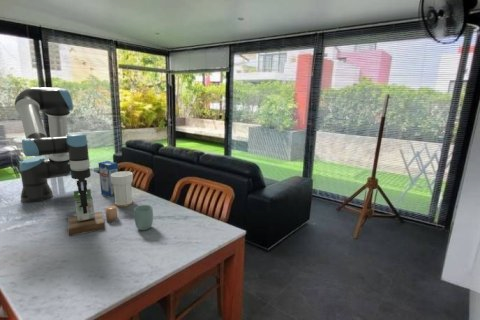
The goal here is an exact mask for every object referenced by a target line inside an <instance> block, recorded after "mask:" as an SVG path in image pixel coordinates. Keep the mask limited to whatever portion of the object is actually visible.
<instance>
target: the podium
mask: <svg viewBox="0 0 480 320" xmlns="http://www.w3.org/2000/svg"><path fill="white" fill-rule="evenodd" d="M94 215H95V218H92V219H87V220H83V221H78V220H77V215H74V216H73V215H72V216H68V227H67V231H68V236H74V235H79V234H80V235H81V234H84V233H90V232H95V231H99V230H105V229H106V228H105V220H104V214H103V211H102V210H101V211H94Z"/></svg>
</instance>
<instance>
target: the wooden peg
mask: <svg viewBox="0 0 480 320" xmlns="http://www.w3.org/2000/svg"><path fill="white" fill-rule="evenodd" d="M117 207H118V206H116V205H110V206H106V207H105V218H106V222H116V221H117V220H118V219H119V217H118V208H117Z"/></svg>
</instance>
